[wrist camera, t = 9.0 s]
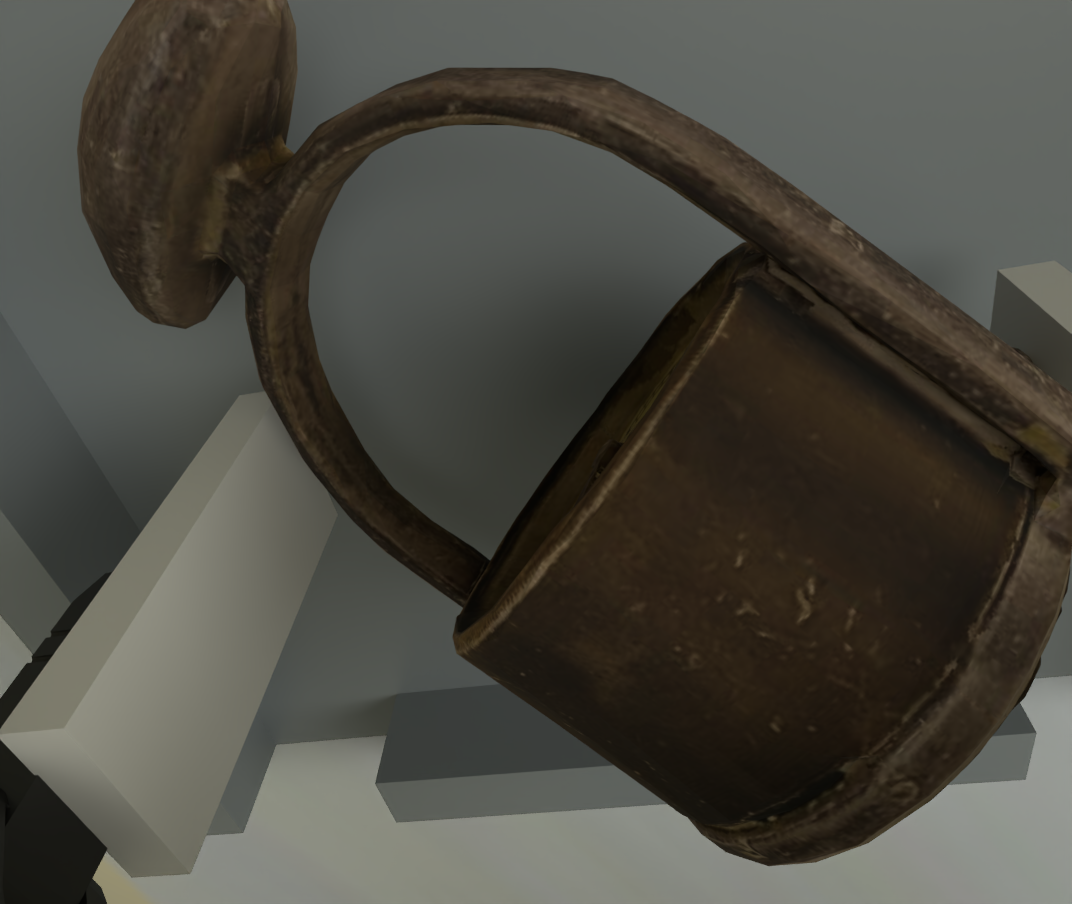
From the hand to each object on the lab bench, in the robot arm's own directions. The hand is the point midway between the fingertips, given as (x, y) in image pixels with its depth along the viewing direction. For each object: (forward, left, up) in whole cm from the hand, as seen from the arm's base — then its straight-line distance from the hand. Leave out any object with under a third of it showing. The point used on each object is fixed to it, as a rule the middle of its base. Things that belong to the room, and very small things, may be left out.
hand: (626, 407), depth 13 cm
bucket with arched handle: (+2, +1, -1) cm, 2 cm away
